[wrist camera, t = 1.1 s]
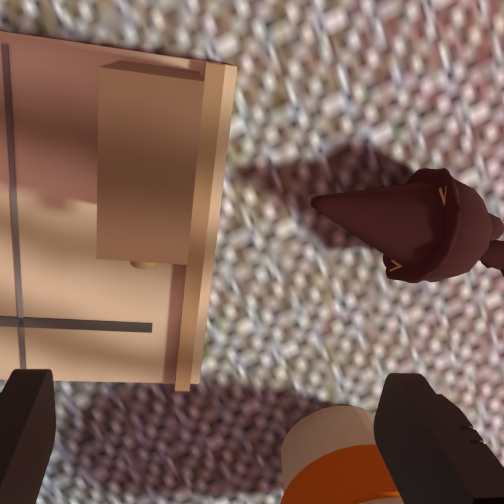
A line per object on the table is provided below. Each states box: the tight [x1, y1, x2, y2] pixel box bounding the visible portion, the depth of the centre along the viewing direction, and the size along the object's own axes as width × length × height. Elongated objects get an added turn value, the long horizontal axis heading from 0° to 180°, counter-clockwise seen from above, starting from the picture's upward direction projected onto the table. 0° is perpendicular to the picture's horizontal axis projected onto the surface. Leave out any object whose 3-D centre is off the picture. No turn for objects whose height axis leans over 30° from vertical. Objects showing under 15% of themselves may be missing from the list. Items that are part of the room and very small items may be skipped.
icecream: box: [310, 168, 504, 283], centre depth 28 cm, size 7×7×15 cm
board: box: [0, 31, 237, 391], centre depth 28 cm, size 21×14×2 cm, turn 172°
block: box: [96, 60, 205, 269], centre depth 23 cm, size 9×4×7 cm, turn 172°
